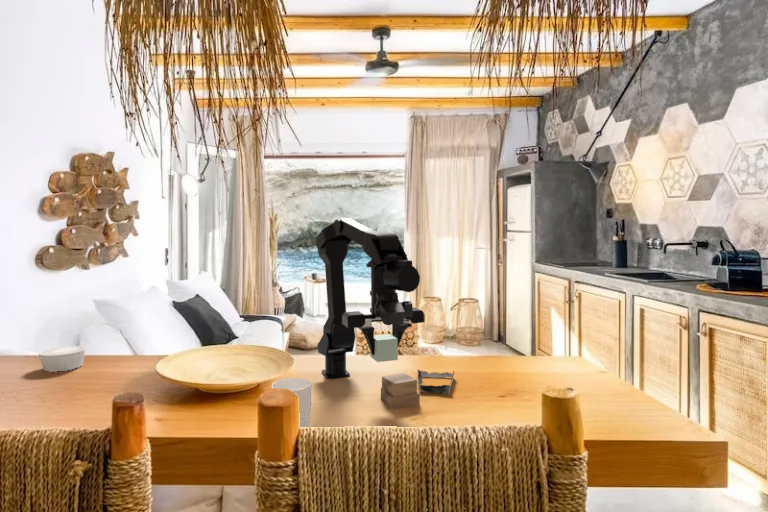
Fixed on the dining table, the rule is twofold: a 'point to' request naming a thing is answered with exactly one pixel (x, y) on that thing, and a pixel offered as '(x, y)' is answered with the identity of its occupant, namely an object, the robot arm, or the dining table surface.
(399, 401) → the slab base
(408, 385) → the slab top
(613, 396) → the dining table surface
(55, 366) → the ramekin
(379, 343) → the sage cube
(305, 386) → the white cup
